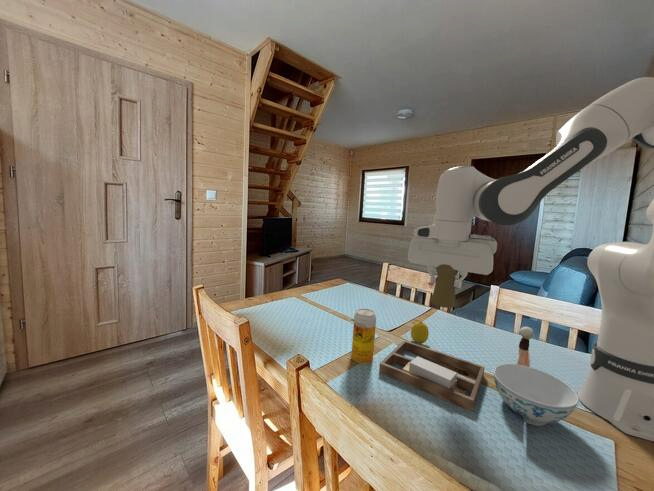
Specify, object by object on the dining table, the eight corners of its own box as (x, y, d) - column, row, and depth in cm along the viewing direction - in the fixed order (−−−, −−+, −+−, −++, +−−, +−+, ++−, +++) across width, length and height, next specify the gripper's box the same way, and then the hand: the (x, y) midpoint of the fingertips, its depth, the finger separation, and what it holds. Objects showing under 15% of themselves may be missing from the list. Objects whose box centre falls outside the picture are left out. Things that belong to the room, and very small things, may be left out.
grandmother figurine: (532, 377, 78) (539, 333, 76) (515, 373, 80) (522, 330, 78) (526, 363, 85) (532, 323, 83) (511, 360, 87) (517, 320, 85)
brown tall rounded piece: (458, 309, 71) (463, 265, 70) (433, 306, 72) (437, 263, 71) (452, 301, 77) (457, 261, 75) (429, 298, 78) (433, 259, 76)
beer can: (347, 364, 80) (351, 313, 78) (355, 354, 85) (359, 306, 83) (368, 370, 77) (372, 318, 75) (375, 360, 82) (379, 311, 80)
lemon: (429, 349, 91) (432, 325, 90) (412, 348, 91) (414, 324, 90) (424, 340, 96) (426, 318, 95) (407, 339, 96) (410, 317, 95)
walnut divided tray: (482, 380, 75) (484, 366, 75) (471, 417, 62) (473, 400, 61) (402, 352, 88) (404, 340, 87) (378, 377, 74) (379, 363, 74)
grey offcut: (455, 381, 68) (457, 372, 68) (449, 389, 65) (450, 380, 65) (416, 364, 75) (417, 356, 75) (408, 370, 72) (409, 362, 71)
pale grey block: (456, 388, 69) (457, 379, 69) (451, 397, 66) (452, 388, 65) (408, 369, 76) (409, 361, 76) (401, 376, 73) (402, 368, 72)
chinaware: (535, 393, 71) (540, 364, 70) (592, 443, 56) (599, 407, 55) (476, 391, 71) (480, 362, 69) (519, 441, 56) (524, 406, 55)
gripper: (499, 235, 68) (492, 291, 70) (415, 228, 80) (411, 275, 82) (496, 237, 63) (489, 296, 65) (407, 229, 75) (403, 279, 77)
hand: (445, 285), depth 74 cm, fingers closed on brown tall rounded piece, 4 cm apart
